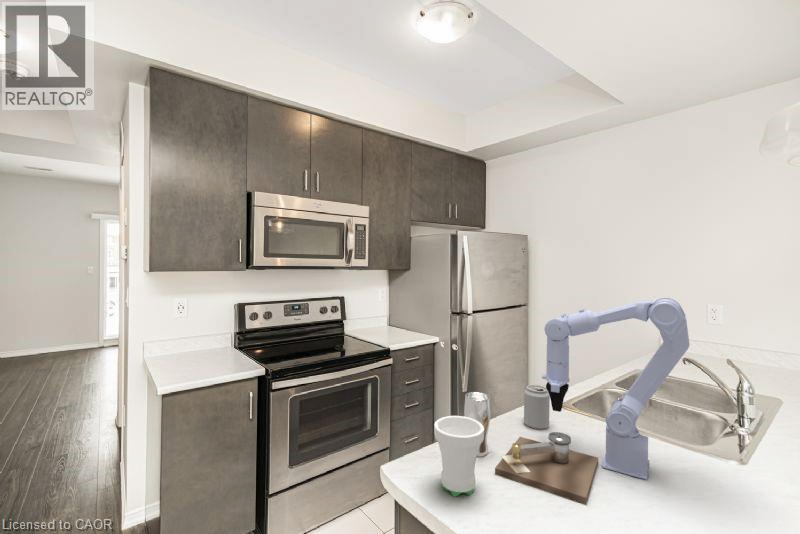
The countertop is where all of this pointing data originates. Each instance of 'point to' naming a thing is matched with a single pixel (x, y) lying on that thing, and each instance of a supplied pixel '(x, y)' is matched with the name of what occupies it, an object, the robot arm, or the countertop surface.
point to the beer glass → (479, 414)
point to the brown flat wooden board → (551, 472)
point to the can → (536, 407)
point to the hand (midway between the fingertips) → (557, 410)
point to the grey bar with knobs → (546, 448)
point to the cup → (458, 451)
